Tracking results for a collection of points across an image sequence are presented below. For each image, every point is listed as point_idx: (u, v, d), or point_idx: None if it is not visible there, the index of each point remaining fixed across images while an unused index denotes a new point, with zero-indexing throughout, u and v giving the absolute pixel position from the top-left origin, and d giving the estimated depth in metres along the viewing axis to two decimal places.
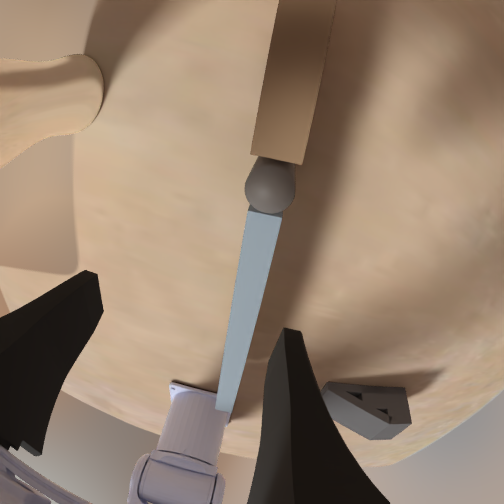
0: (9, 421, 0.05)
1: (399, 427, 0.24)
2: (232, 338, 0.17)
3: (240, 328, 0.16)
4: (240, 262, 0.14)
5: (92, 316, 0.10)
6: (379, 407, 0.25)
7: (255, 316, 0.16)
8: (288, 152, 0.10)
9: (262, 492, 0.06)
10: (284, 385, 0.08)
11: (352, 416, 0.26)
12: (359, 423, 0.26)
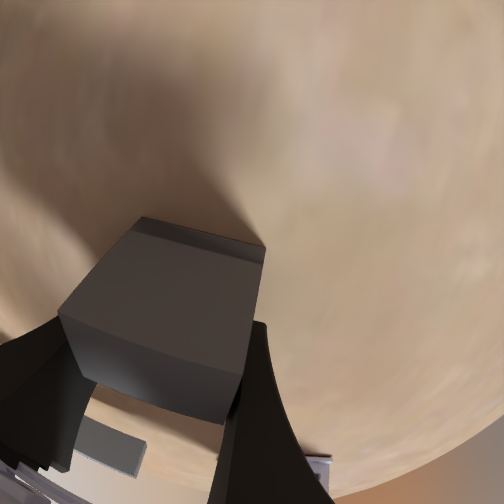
0: (40, 443, 0.05)
1: (97, 352, 0.06)
2: None
3: None
4: None
5: None
6: None
7: None
8: None
9: (216, 485, 0.06)
10: None
11: None
12: None
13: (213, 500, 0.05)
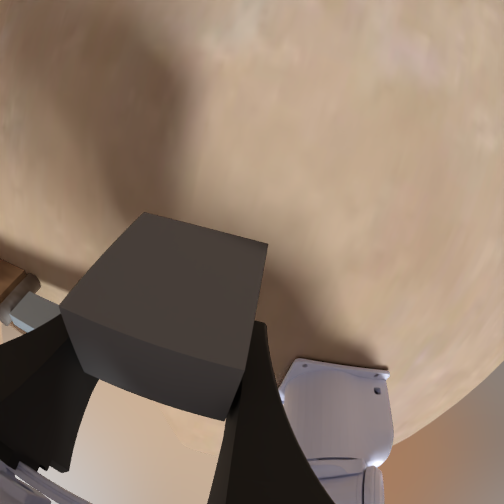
0: (40, 443, 0.05)
1: (98, 347, 0.06)
2: None
3: None
4: None
5: None
6: None
7: None
8: None
9: (216, 485, 0.06)
10: None
11: None
12: None
13: (213, 500, 0.05)
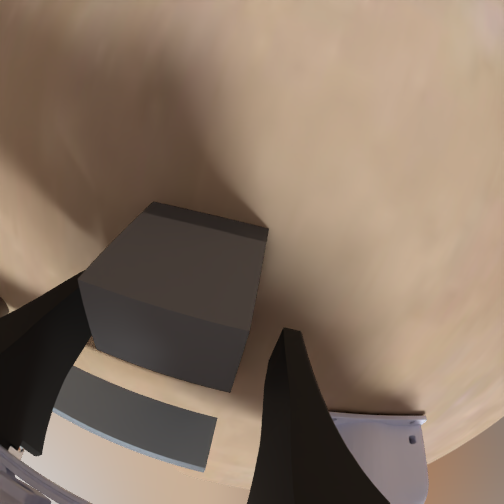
0: (9, 421, 0.05)
1: (113, 318, 0.07)
2: None
3: None
4: None
5: None
6: None
7: None
8: None
9: (262, 492, 0.06)
10: (284, 385, 0.08)
11: None
12: None
13: None
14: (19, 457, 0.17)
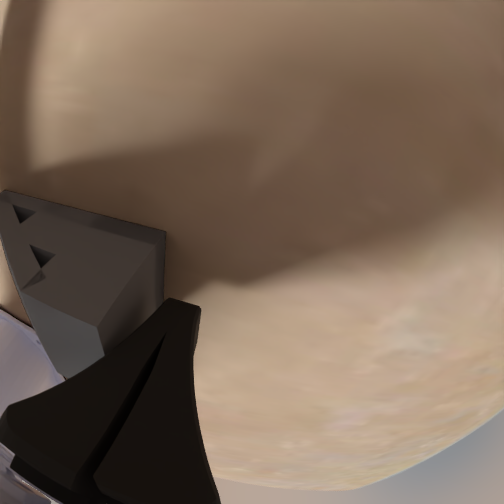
0: None
1: (74, 337, 0.07)
2: None
3: None
4: None
5: None
6: (38, 244, 0.08)
7: None
8: None
9: None
10: None
11: (11, 273, 0.09)
12: None
13: None
14: None
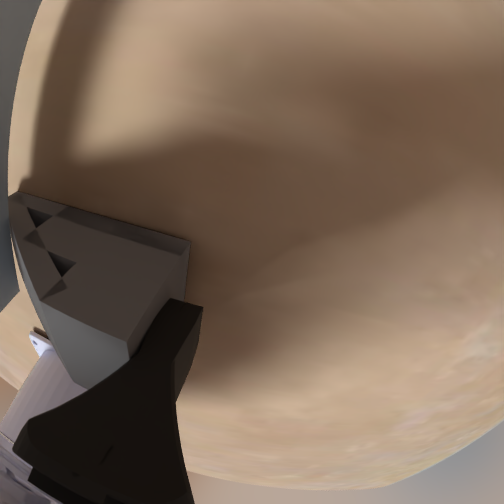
0: None
1: (98, 350, 0.07)
2: None
3: None
4: None
5: (193, 351, 0.10)
6: (57, 251, 0.08)
7: None
8: None
9: None
10: None
11: (25, 278, 0.09)
12: (36, 306, 0.09)
13: None
14: None
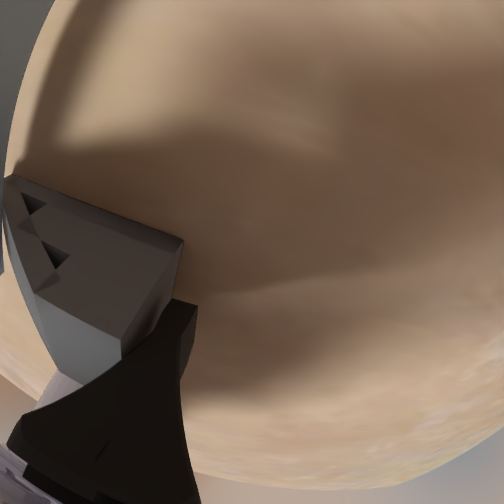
0: None
1: (90, 344, 0.07)
2: None
3: None
4: None
5: (188, 350, 0.10)
6: (51, 242, 0.08)
7: None
8: None
9: None
10: None
11: (15, 265, 0.09)
12: (25, 294, 0.09)
13: None
14: None
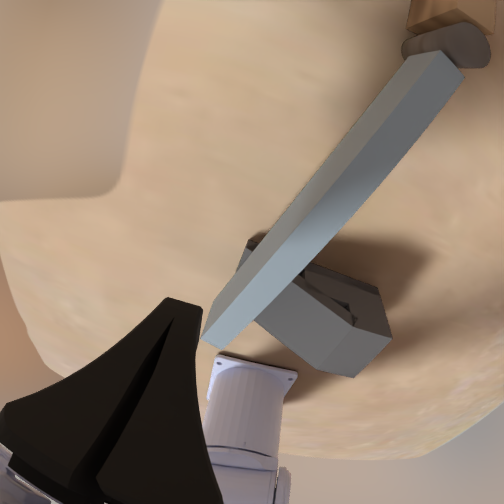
0: None
1: (370, 345, 0.16)
2: (326, 207, 0.11)
3: (349, 191, 0.11)
4: (407, 95, 0.08)
5: None
6: (334, 297, 0.17)
7: (380, 179, 0.10)
8: (484, 19, 0.05)
9: None
10: None
11: (286, 310, 0.18)
12: (298, 327, 0.17)
13: None
14: None
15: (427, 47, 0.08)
